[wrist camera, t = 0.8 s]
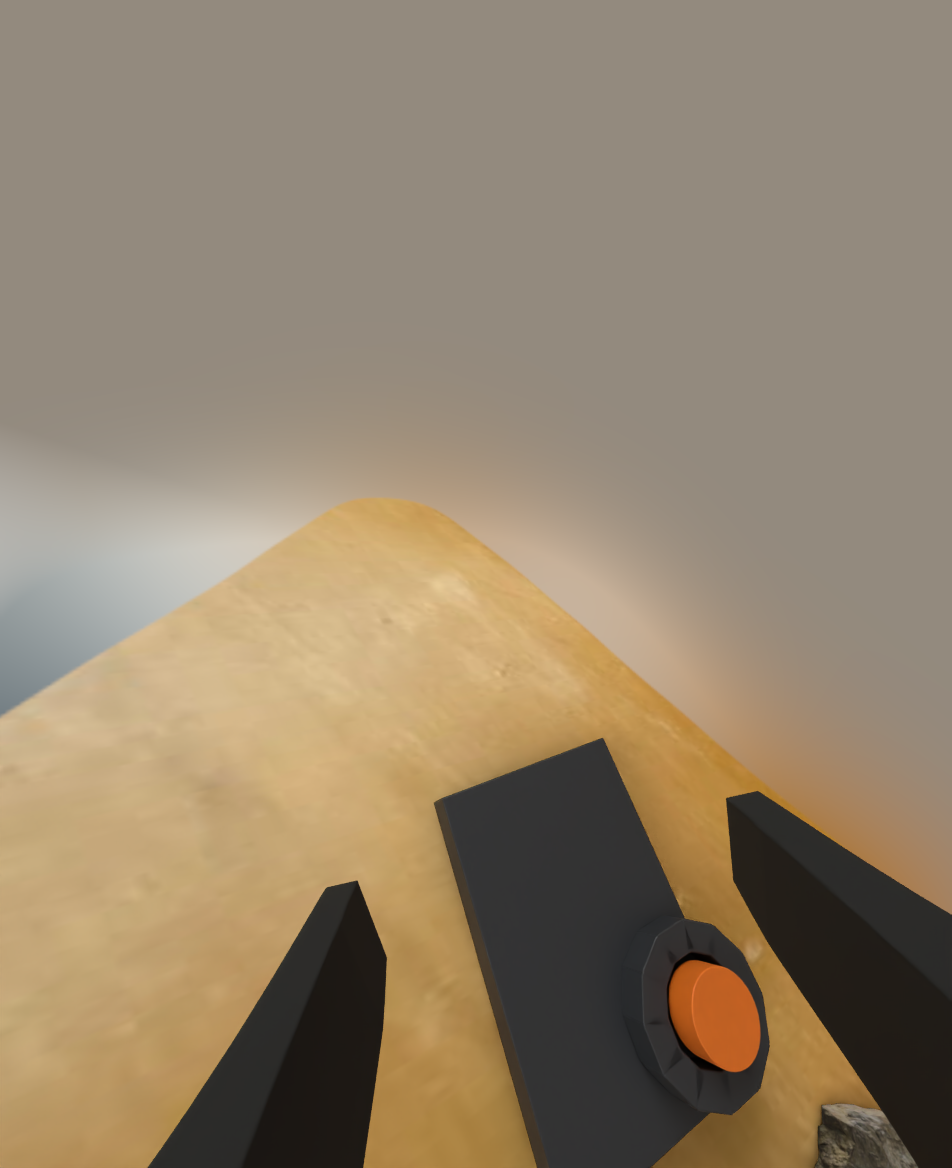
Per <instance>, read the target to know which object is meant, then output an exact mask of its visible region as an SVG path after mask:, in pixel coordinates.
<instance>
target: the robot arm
mask: <svg viewBox="0 0 952 1168" xmlns="http://www.w3.org/2000/svg"><path fill="white" fill-rule="evenodd" d="M726 802H727V813H728V825H729V836H730V848H731V859H732V870H733V881H734V883H735V884H736V886H737V888H738V890H739V892H740V894H741V895H742V897H743V899H744V901H745V903H746V905H747V906H748V908H749V910H750V912H751V914H752V916H753V917H754V919H755V921H756V923H757V924H758V926H759V928H760V930H761V931H762V933H763V935H764V937H765V939H766V940H767V942H768V944H769V945H770V947H771V948H772V950H773V951H774V953H775V954H776V956H777V957H778V959H779V960H780V962H781V963H782V965H783V966H784V968H785V969H786V971H787V972H788V973H789V975H790V976H791V978H792V979H793V981H794V982H795V984H796V985H797V987H798V988H799V990H800V991H801V993H802V994H803V996H804V997H805V999H806V1000H807V1002H808V1003H809V1004H810V1006H811V1007H812V1009H813V1010H814V1012H815V1013H816V1015H817V1016H818V1018H819V1019H820V1021H821V1022H822V1023H823V1025H824V1026H825V1028H826V1029H827V1031H828V1032H829V1034H830V1035H831V1037H832V1038H833V1040H834V1041H835V1042H836V1044H837V1045H838V1047H839V1048H840V1050H841V1051H842V1053H843V1054H844V1056H845V1057H846V1059H847V1060H848V1061H849V1063H850V1064H851V1066H852V1067H853V1069H854V1070H855V1072H856V1073H857V1075H858V1076H859V1078H860V1079H861V1081H862V1082H863V1083H864V1085H865V1086H866V1088H867V1089H868V1091H869V1092H870V1094H871V1095H872V1097H873V1098H874V1100H875V1101H876V1102H877V1104H878V1105H879V1107H880V1108H881V1110H882V1111H883V1113H884V1114H885V1116H886V1117H887V1119H888V1121H889V1122H890V1124H891V1125H892V1127H893V1128H894V1130H895V1131H896V1133H897V1135H898V1136H899V1138H900V1139H901V1141H902V1142H903V1144H904V1145H905V1147H906V1148H907V1150H908V1152H909V1153H910V1155H911V1156H912V1158H913V1160H914V1161H915V1163H916V1164H917V1166H918V1168H952V915H951V914H949V913H948V912H946V911H944V910H943V909H941V908H939V907H938V906H936V905H934V904H933V903H931V902H929V901H928V900H926V899H924V898H923V897H921V896H919V895H918V894H916V893H914V892H913V891H911V890H910V889H908V888H907V887H905V886H904V885H902V884H900V883H899V882H897V881H895V880H894V879H892V878H891V877H889V876H887V875H886V874H884V873H883V872H881V871H879V870H878V869H876V868H875V867H873V866H872V865H870V864H868V863H867V862H865V861H864V860H862V859H861V858H859V857H857V856H856V855H854V854H853V853H851V852H850V851H848V850H847V849H845V848H844V847H842V846H840V845H839V844H837V843H836V842H834V841H833V840H831V839H830V838H828V837H827V836H825V835H824V834H822V833H821V832H819V831H818V830H816V829H815V828H813V827H812V826H810V825H809V824H807V823H806V822H804V821H803V820H801V819H800V818H798V817H797V816H795V815H793V814H792V813H790V812H789V811H787V810H786V809H784V808H783V807H781V806H780V805H778V804H777V803H775V802H774V801H772V800H771V799H769V798H768V797H766V796H765V795H763V794H762V793H760V792H759V791H756V792H751V793H747V794H742V795H738V796H733V797H729V798H726ZM386 962H387V957H386V954H385V952H384V949H383V946H382V944H381V941H380V938H379V936H378V933H377V931H376V928H375V925H374V923H373V920H372V918H371V915H370V912H369V910H368V907H367V905H366V902H365V899H364V897H363V894H362V892H361V889H360V886H359V884H358V881H354V882H349V883H345V884H340V885H336V886H331V887H327V888H326V889H325V891H324V892H323V894H322V895H321V897H320V899H319V900H318V902H317V904H316V905H315V907H314V909H313V910H312V912H311V914H310V915H309V917H308V919H307V921H306V922H305V924H304V926H303V927H302V929H301V931H300V932H299V934H298V936H297V937H296V939H295V941H294V943H293V944H292V946H291V948H290V949H289V951H288V953H287V954H286V956H285V958H284V959H283V961H282V963H281V964H280V966H279V968H278V969H277V971H276V973H275V974H274V976H273V978H272V979H271V981H270V983H269V984H268V986H267V987H266V989H265V991H264V992H263V994H262V996H261V997H260V999H259V1000H258V1002H257V1004H256V1005H255V1007H254V1009H253V1010H252V1012H251V1013H250V1015H249V1017H248V1018H247V1020H246V1022H245V1023H244V1025H243V1026H242V1028H241V1030H240V1031H239V1033H238V1034H237V1036H236V1037H235V1039H234V1041H233V1042H232V1044H231V1045H230V1047H229V1048H228V1050H227V1051H226V1053H225V1054H224V1056H223V1057H222V1059H221V1060H220V1062H219V1063H218V1065H217V1067H216V1068H215V1070H214V1071H213V1073H212V1074H211V1076H210V1077H209V1079H208V1080H207V1082H206V1083H205V1085H204V1086H203V1088H202V1089H201V1091H200V1092H199V1094H198V1095H197V1097H196V1098H195V1100H194V1101H193V1103H192V1104H191V1106H190V1108H189V1109H188V1110H187V1112H186V1113H185V1115H184V1116H183V1118H182V1119H181V1121H180V1122H179V1124H178V1125H177V1126H176V1128H175V1129H174V1131H173V1132H172V1134H171V1135H170V1137H169V1138H168V1139H167V1141H166V1142H165V1144H164V1145H163V1147H162V1148H161V1150H160V1151H159V1152H158V1154H157V1155H156V1157H155V1158H154V1159H153V1161H152V1162H151V1164H150V1165H149V1166H148V1168H363V1164H364V1158H365V1151H366V1144H367V1137H368V1130H369V1123H370V1117H371V1110H372V1103H373V1096H374V1089H375V1082H376V1075H377V1068H378V1061H379V1054H380V1047H381V1039H382V1032H383V1021H384V1005H385V986H386Z"/></svg>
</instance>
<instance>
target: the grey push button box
mask: <svg viewBox="0 0 952 1168" xmlns="http://www.w3.org/2000/svg"><path fill="white" fill-rule="evenodd" d="M434 805H435V808H436V812H437V815H438V819H439V822H440V826H441V829H442V833H443V836H444V840H445V843H446V847H447V850H448V854H449V858H450V861H451V865H452V868H453V872H454V875H455V879H456V882H457V886H458V889H459V893H460V896H461V900H462V903H463V907H464V910H465V914H466V917H467V921H468V925H469V928H470V932H471V935H472V939H473V942H474V946H475V949H476V953H477V956H478V960H479V963H480V967H481V970H482V974H483V977H484V981H485V984H486V988H487V992H488V995H489V999H490V1002H491V1006H492V1009H493V1013H494V1016H495V1020H496V1023H497V1027H498V1030H499V1034H500V1037H501V1041H502V1044H503V1048H504V1051H505V1055H506V1059H507V1062H508V1066H509V1069H510V1073H511V1076H512V1080H513V1083H514V1087H515V1090H516V1094H517V1097H518V1101H519V1104H520V1108H521V1111H522V1115H523V1118H524V1122H525V1126H526V1129H527V1133H528V1136H529V1140H530V1143H531V1147H532V1150H533V1154H534V1157H535V1161H536V1164H537V1168H650V1167H652V1166H653V1165H654V1164H655V1163H656V1162H657V1161H658V1160H659V1159H660V1158H661V1157H662V1156H664V1155H665V1154H666V1153H667V1152H668V1151H669V1150H670V1149H671V1148H672V1147H673V1146H674V1145H676V1144H677V1143H678V1142H679V1141H680V1140H681V1139H682V1138H683V1137H684V1136H685V1135H686V1134H688V1133H689V1132H690V1131H691V1130H692V1129H693V1128H694V1127H695V1126H696V1125H697V1124H698V1123H700V1122H701V1121H702V1120H703V1119H704V1118H705V1117H706V1116H707V1115H708V1114H709V1113H710V1112H711V1113H718V1114H726V1115H733V1113H735V1112H736V1111H737V1110H739V1109H740V1108H741V1107H742V1106H743V1105H744V1104H745V1103H746V1102H747V1101H748V1100H749V1099H750V1098H751V1097H752V1096H753V1095H754V1094H755V1093H756V1092H758V1090H759V1089H760V1087H761V1083H762V1079H763V1074H764V1070H765V1065H766V1061H767V1056H768V1052H769V1047H770V1045H769V1043H770V1042H769V1035H768V1028H767V1021H766V1014H765V1007H764V1000H763V996H762V992H761V990H760V988H759V986H758V984H757V982H756V980H755V978H754V976H753V973H752V971H751V969H750V967H749V965H748V963H747V961H746V959H745V957H744V955H743V953H742V952H741V951H740V950H739V949H738V948H737V947H736V946H735V945H734V944H733V943H732V942H731V941H730V940H729V939H728V938H727V937H725V936H724V935H723V934H722V933H721V932H720V931H719V930H718V929H717V928H716V927H715V926H713V925H712V924H708V923H703V922H698V921H693V920H689V919H685V918H684V916H683V913H682V911H681V909H680V907H679V905H678V902H677V900H676V898H675V896H674V894H673V891H672V889H671V887H670V885H669V883H668V880H667V878H666V876H665V874H664V871H663V869H662V867H661V865H660V863H659V860H658V858H657V856H656V854H655V852H654V849H653V847H652V845H651V843H650V841H649V838H648V836H647V834H646V832H645V829H644V827H643V825H642V823H641V821H640V818H639V816H638V814H637V812H636V810H635V807H634V805H633V803H632V801H631V799H630V796H629V794H628V792H627V790H626V787H625V785H624V783H623V781H622V779H621V776H620V774H619V772H618V770H617V768H616V765H615V763H614V761H613V759H612V757H611V754H610V752H609V750H608V748H607V746H606V743H605V741H604V739H603V738H601V739H598V740H596V741H593V742H590V743H588V744H585V745H582V746H580V747H577V748H574V749H572V750H569V751H566V752H564V753H561V754H558V755H556V756H553V757H550V758H548V759H545V760H542V761H540V762H537V763H534V764H532V765H529V766H526V767H524V768H521V769H519V770H516V771H513V772H511V773H508V774H505V775H503V776H500V777H497V778H495V779H492V780H489V781H487V782H484V783H481V784H479V785H476V786H473V787H471V788H468V789H465V790H463V791H460V792H457V793H455V794H452V795H449V796H447V797H444V798H442V799H440V800H438V801H436V802H435V803H434ZM688 960H699V961H703V962H707V963H710V964H714V965H718V966H722V967H725V968H727V969H729V970H731V971H732V972H734V973H735V974H736V975H737V976H738V977H739V978H740V979H741V980H742V981H743V982H744V984H745V985H746V987H747V988H748V990H749V992H750V993H751V995H752V997H753V1000H754V1002H755V1005H756V1008H757V1012H758V1015H759V1021H760V1045H759V1050H758V1053H757V1056H756V1058H755V1060H754V1061H753V1063H752V1064H751V1065H750V1066H749V1067H748V1068H747V1069H745V1070H743V1071H740V1072H729V1071H726V1070H724V1069H722V1068H720V1067H718V1066H716V1065H714V1064H712V1063H710V1062H708V1061H706V1060H704V1059H702V1058H700V1057H698V1056H696V1055H695V1054H693V1053H692V1052H691V1051H690V1050H689V1049H688V1048H687V1047H686V1046H685V1045H684V1044H683V1042H682V1041H681V1039H680V1038H679V1036H678V1034H677V1032H676V1030H675V1028H674V1025H673V1022H672V1019H671V1015H670V1010H669V1002H668V994H669V986H670V981H671V978H672V976H673V974H674V972H675V970H676V969H677V968H678V966H680V965H681V964H682V963H684V962H685V961H688Z"/></svg>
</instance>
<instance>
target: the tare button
mask: <svg viewBox="0 0 952 1168" xmlns="http://www.w3.org/2000/svg"><path fill="white" fill-rule="evenodd" d="M668 1002H669V1010H670V1015H671V1019H672V1022H673V1025H674V1028H675V1030H676V1032H677V1034H678V1036H679V1038H680V1039H681V1041H682V1042H683V1044H684V1045H685V1046H686V1047H687V1048H688V1049H689V1050H690V1051H691V1052H692V1053H693V1054H695V1055H696V1056H698V1057H700V1058H702V1059H704V1060H706V1061H708V1062H710V1063H712V1064H714V1065H716V1066H718V1067H720V1068H722V1069H724V1070H726V1071H729V1072H740V1071H743V1070H745V1069H747V1068H748V1067H749V1066H750V1065H751V1064H752V1063H753V1061H754V1060H755V1058H756V1056H757V1053H758V1050H759V1045H760V1021H759V1015H758V1012H757V1008H756V1005H755V1002H754V1000H753V997H752V995H751V993H750V992H749V990H748V988H747V987H746V985H745V984H744V982H743V981H742V980H741V979H740V978H739V977H738V976H737V975H736V974H735V973H734V972H732V971H731V970H729V969H727V968H725V967H722V966H718V965H714V964H710V963H707V962H703V961H699V960H688V961H685V962H684V963H682V964H681V965H680V966H678V968H677V969H676V970H675V972H674V974H673V976H672V978H671V981H670V986H669V994H668Z"/></svg>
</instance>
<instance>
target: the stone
mask: <svg viewBox="0 0 952 1168" xmlns="http://www.w3.org/2000/svg"><path fill="white" fill-rule="evenodd" d="M822 1123H823V1124H822V1125H820V1126H818V1147H819V1158H818V1161H817V1163H816V1166H815V1168H918V1166H917V1164H916V1163H915V1161H914V1160H913V1158H912V1156H911V1155H910V1153H909V1152H908V1150H907V1148H906V1147H905V1145H904V1144H903V1142H902V1141H901V1139H900V1138H899V1136H898V1135H897V1133H896V1131H895V1130H894V1128H893V1127H892V1125H891V1124H890V1122H889V1121H888V1119H887V1117H886V1116H885V1114H884V1113H883V1111H881V1110H877V1109H872V1108H867V1109H865V1108H862V1107H859V1106H856V1105H852V1104H834V1105H828V1104H827V1105H822Z"/></svg>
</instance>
